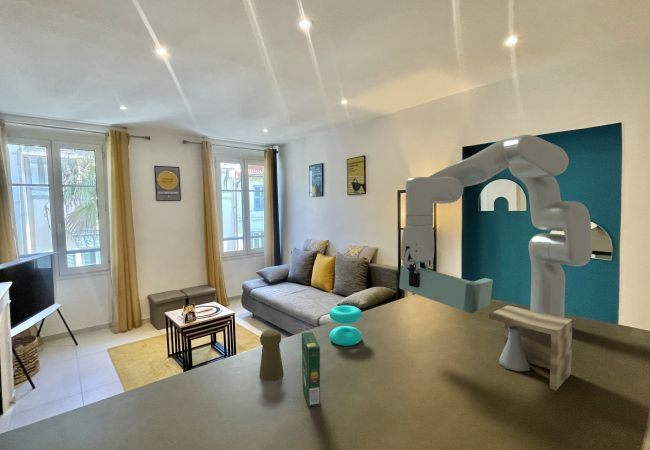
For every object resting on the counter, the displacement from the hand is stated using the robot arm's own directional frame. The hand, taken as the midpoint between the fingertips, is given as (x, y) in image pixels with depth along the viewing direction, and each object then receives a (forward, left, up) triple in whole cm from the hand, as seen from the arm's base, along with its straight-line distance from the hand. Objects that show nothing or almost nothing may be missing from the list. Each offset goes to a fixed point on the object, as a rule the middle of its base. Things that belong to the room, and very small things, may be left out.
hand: (418, 284), depth 93 cm
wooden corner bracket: (-11, +25, -19) cm, 33 cm away
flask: (-11, +21, -19) cm, 31 cm away
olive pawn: (+39, -16, -19) cm, 46 cm away
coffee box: (+37, -2, -19) cm, 42 cm away
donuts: (+11, -19, -19) cm, 29 cm away
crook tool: (-3, +5, -3) cm, 7 cm away
